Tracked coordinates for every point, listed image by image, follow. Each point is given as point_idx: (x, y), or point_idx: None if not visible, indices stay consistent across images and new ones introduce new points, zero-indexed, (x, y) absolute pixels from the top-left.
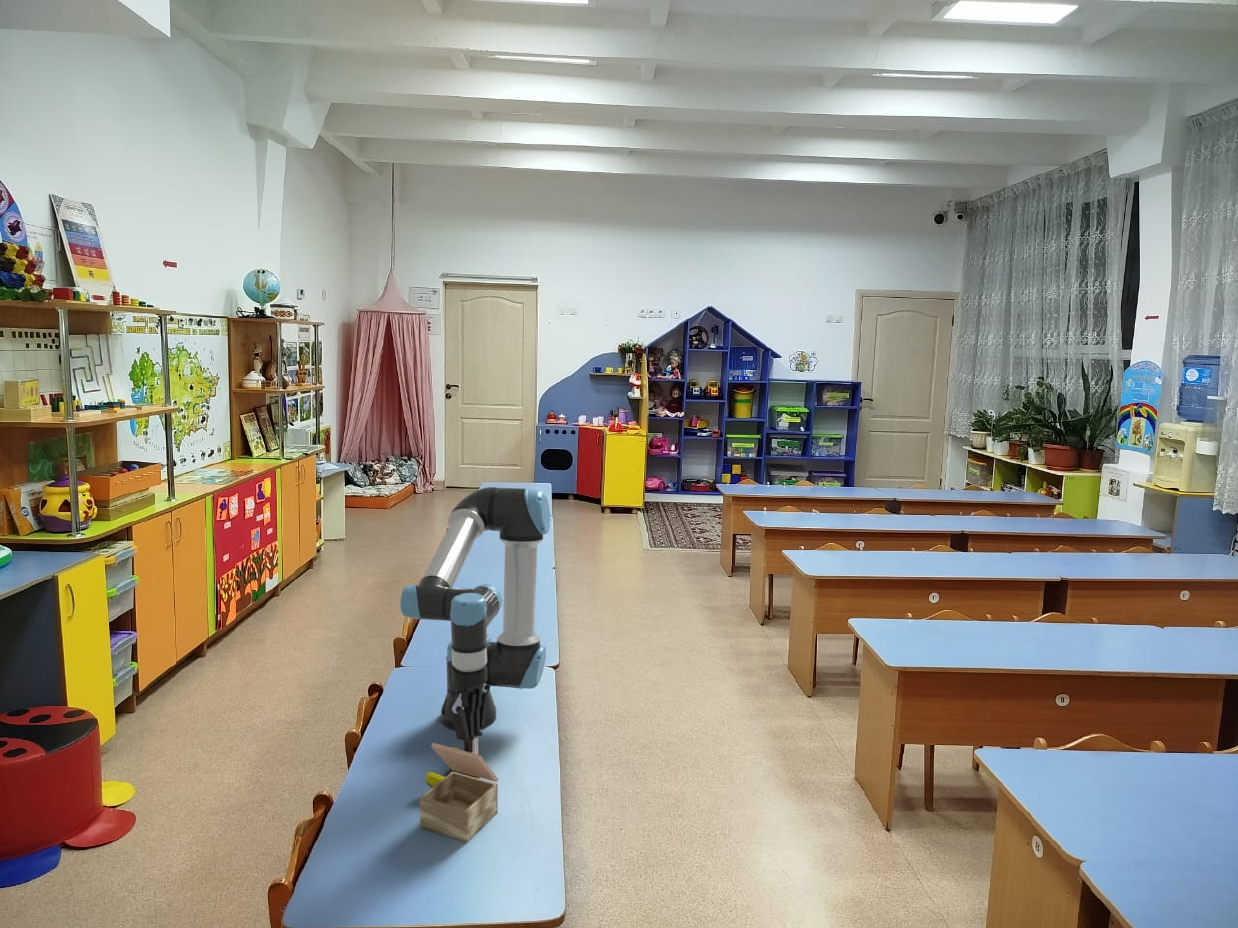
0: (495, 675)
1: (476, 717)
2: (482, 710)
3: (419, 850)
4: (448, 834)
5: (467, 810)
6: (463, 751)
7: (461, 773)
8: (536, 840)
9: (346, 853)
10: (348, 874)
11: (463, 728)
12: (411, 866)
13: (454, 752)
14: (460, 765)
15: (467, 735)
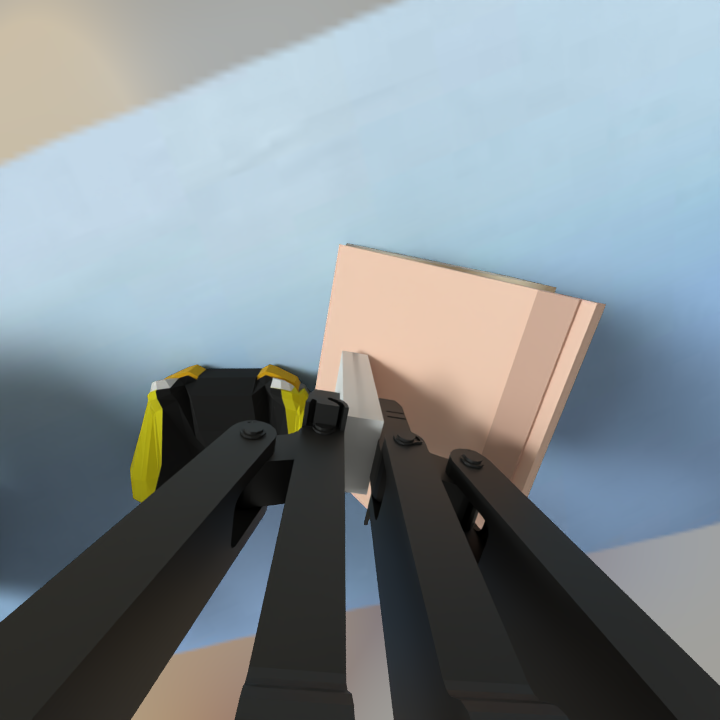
0: None
1: (343, 546)
2: (181, 555)
3: None
4: None
5: (545, 290)
6: (548, 428)
7: (242, 415)
8: (463, 47)
9: (576, 516)
10: (647, 480)
11: (592, 568)
12: (615, 370)
13: (534, 474)
14: None
15: (491, 482)
